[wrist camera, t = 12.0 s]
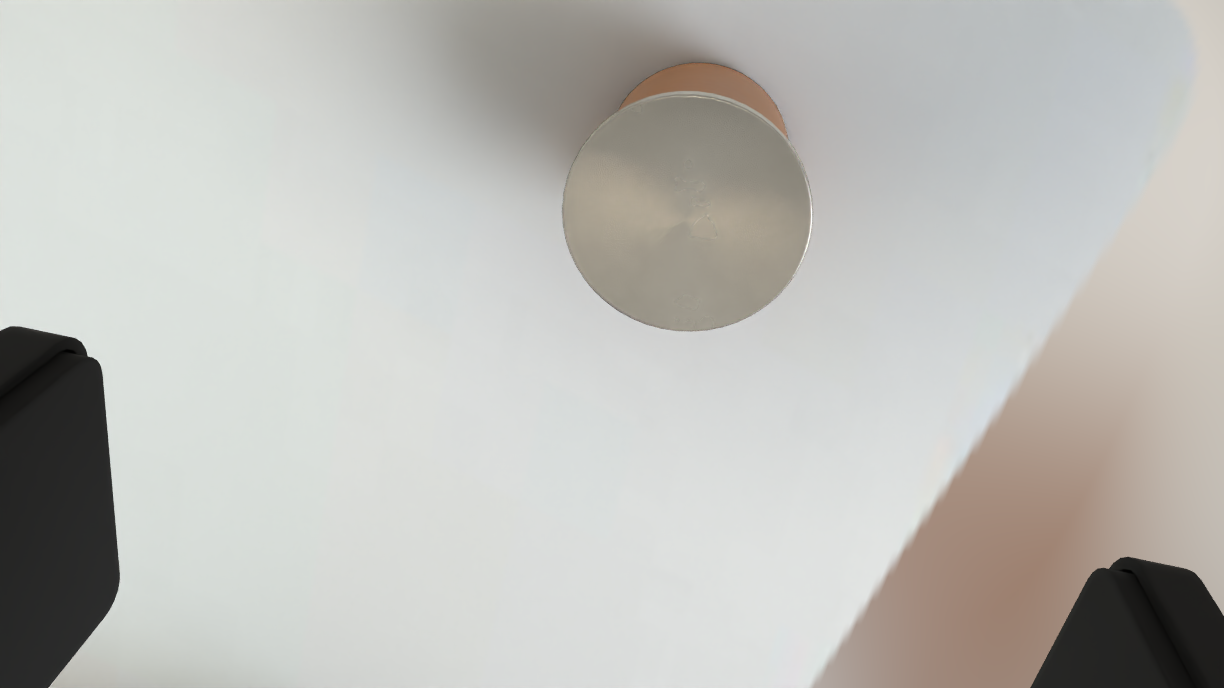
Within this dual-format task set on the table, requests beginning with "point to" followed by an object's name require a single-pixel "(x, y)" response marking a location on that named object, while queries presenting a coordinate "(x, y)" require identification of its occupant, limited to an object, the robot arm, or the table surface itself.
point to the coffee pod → (689, 201)
